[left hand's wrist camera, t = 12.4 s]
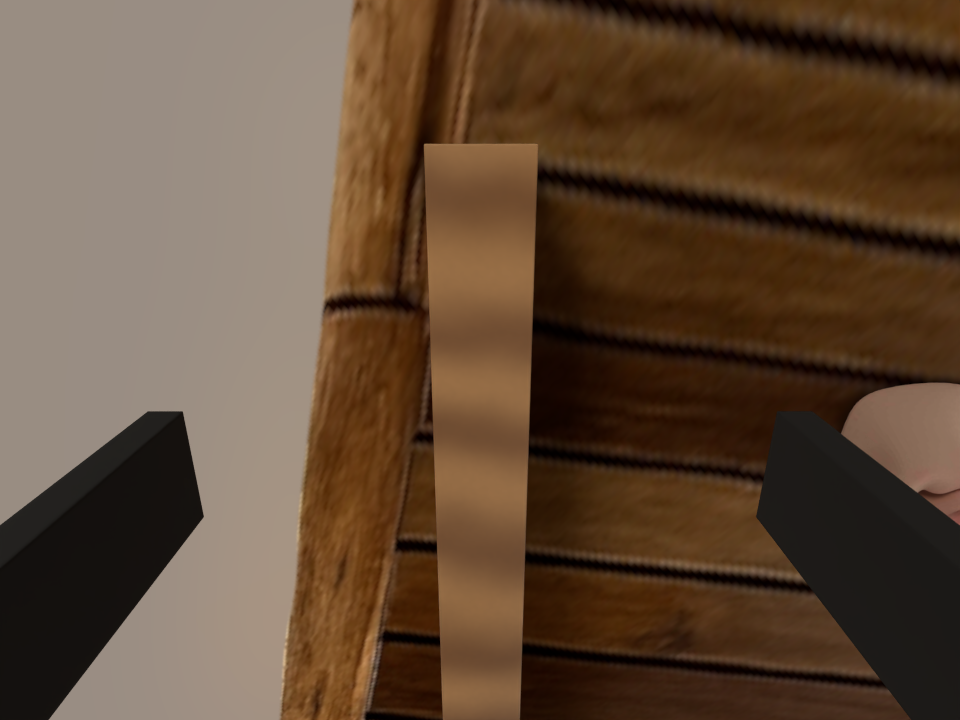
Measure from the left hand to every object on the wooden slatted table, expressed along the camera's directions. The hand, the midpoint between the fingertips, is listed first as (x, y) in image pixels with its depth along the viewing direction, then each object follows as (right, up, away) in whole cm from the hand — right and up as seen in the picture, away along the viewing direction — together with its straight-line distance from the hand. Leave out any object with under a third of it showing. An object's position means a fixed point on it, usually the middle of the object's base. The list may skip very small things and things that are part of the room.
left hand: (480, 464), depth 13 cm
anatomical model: (+29, -5, +24) cm, 38 cm away
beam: (0, -15, +28) cm, 32 cm away
